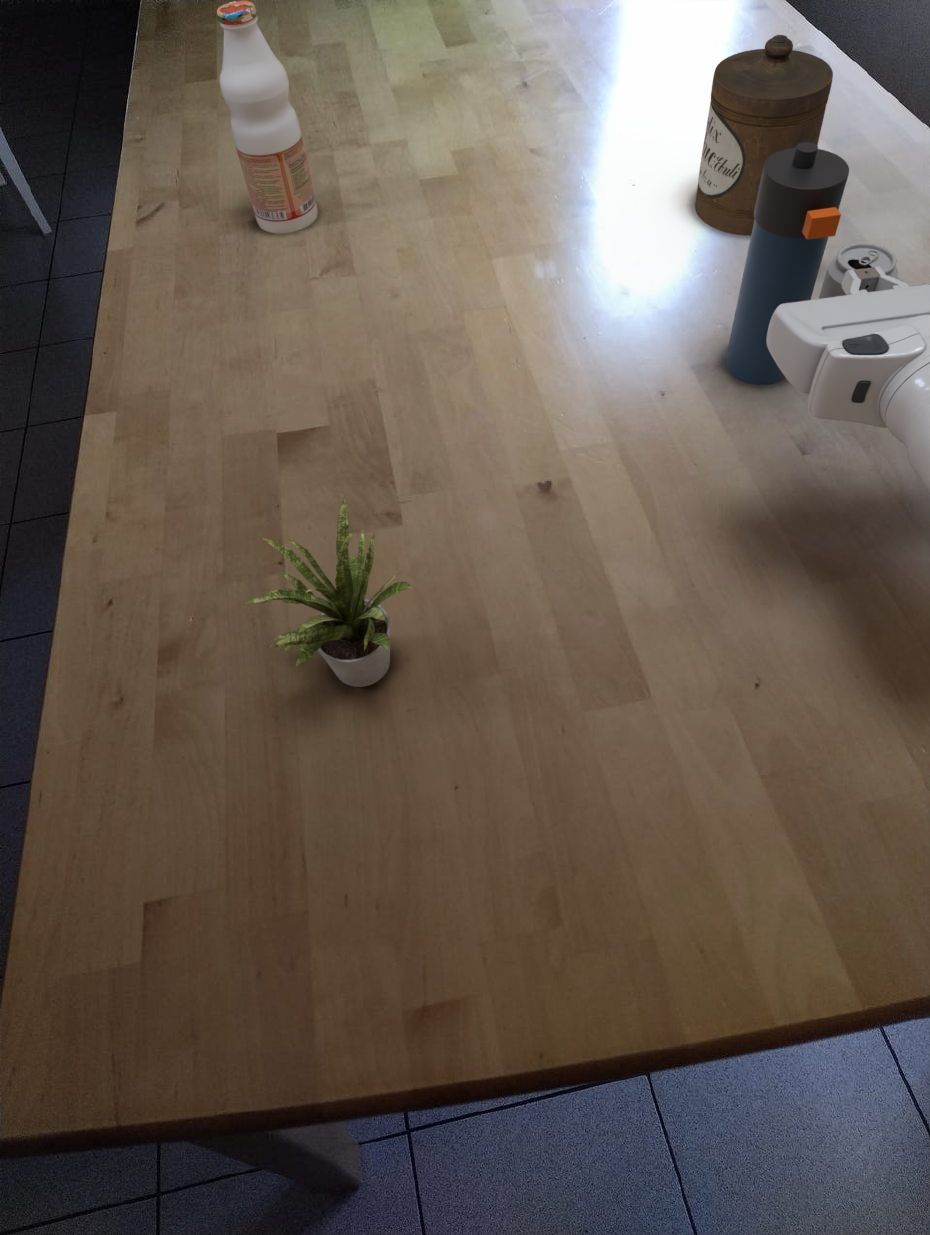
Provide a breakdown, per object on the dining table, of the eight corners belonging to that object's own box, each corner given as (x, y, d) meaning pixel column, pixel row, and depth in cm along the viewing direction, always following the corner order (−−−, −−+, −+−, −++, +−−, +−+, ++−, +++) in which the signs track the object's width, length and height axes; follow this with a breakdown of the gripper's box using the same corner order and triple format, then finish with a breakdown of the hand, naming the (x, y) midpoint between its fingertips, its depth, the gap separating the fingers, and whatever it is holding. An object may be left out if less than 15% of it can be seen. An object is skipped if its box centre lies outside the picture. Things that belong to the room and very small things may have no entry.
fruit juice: (265, 244, 128) (205, 29, 105) (252, 213, 133) (192, 2, 111) (326, 227, 129) (280, 12, 107) (310, 198, 135) (263, -13, 112)
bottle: (801, 384, 102) (867, 165, 81) (734, 394, 102) (783, 177, 81) (778, 343, 106) (835, 126, 86) (714, 352, 106) (755, 136, 86)
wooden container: (688, 186, 129) (711, 17, 111) (790, 181, 128) (831, 9, 110) (700, 242, 120) (727, 68, 102) (810, 237, 119) (857, 60, 101)
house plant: (289, 604, 88) (245, 491, 75) (425, 590, 88) (404, 475, 75) (282, 728, 80) (230, 625, 66) (431, 713, 79) (409, 607, 66)
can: (792, 347, 106) (817, 257, 96) (830, 320, 108) (858, 229, 98) (844, 375, 102) (876, 284, 92) (883, 347, 104) (917, 255, 95)
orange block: (835, 236, 84) (841, 214, 82) (806, 240, 84) (812, 218, 82) (829, 228, 84) (836, 206, 83) (801, 232, 84) (807, 210, 83)
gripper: (1074, 322, 67) (988, 226, 75) (813, 357, 66) (755, 257, 75) (1035, 387, 72) (959, 291, 80) (793, 420, 71) (741, 320, 80)
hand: (859, 275), depth 77 cm, fingers closed
